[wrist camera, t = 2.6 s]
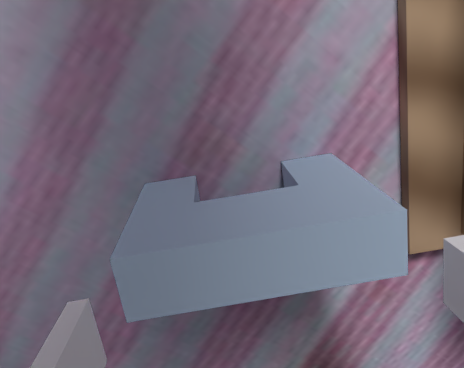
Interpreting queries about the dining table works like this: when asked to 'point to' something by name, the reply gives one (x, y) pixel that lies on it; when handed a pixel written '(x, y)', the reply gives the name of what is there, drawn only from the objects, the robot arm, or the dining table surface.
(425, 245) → the walnut notched stand
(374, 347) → the dining table surface
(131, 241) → the gray u-shaped block
